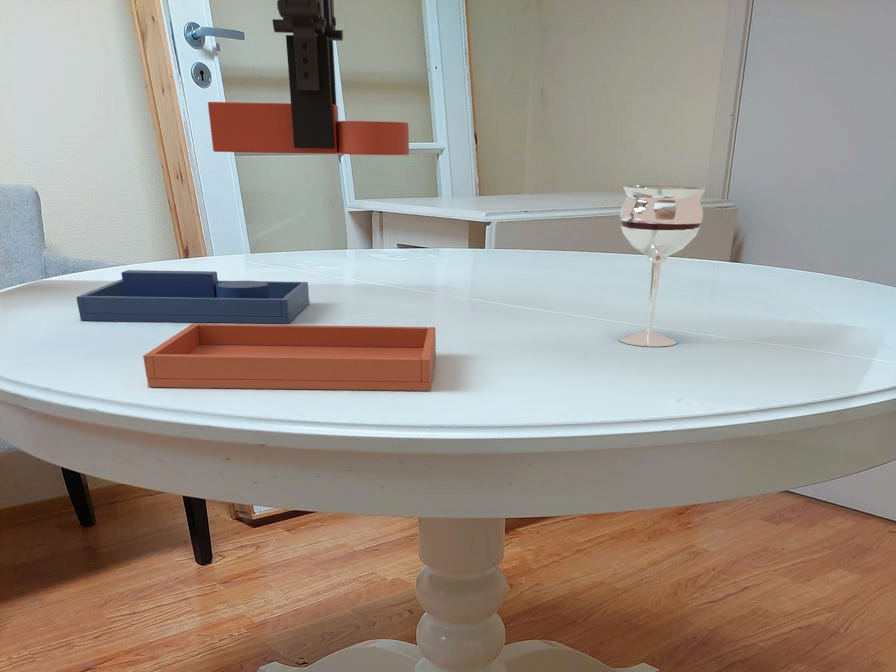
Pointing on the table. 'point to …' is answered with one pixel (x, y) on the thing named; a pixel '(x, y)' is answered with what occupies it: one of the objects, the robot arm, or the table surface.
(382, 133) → the bar with round end
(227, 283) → the blue block
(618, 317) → the table surface
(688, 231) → the wineglass
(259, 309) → the blue tray
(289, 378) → the terracotta tray
